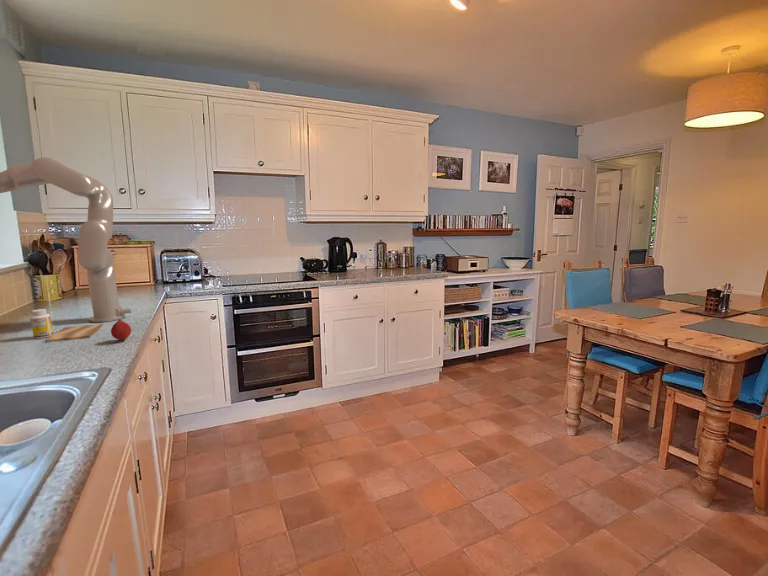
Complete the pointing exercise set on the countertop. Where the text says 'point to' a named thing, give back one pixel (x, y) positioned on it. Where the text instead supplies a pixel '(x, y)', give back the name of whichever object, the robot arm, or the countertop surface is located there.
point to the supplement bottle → (41, 324)
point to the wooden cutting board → (75, 332)
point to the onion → (120, 330)
